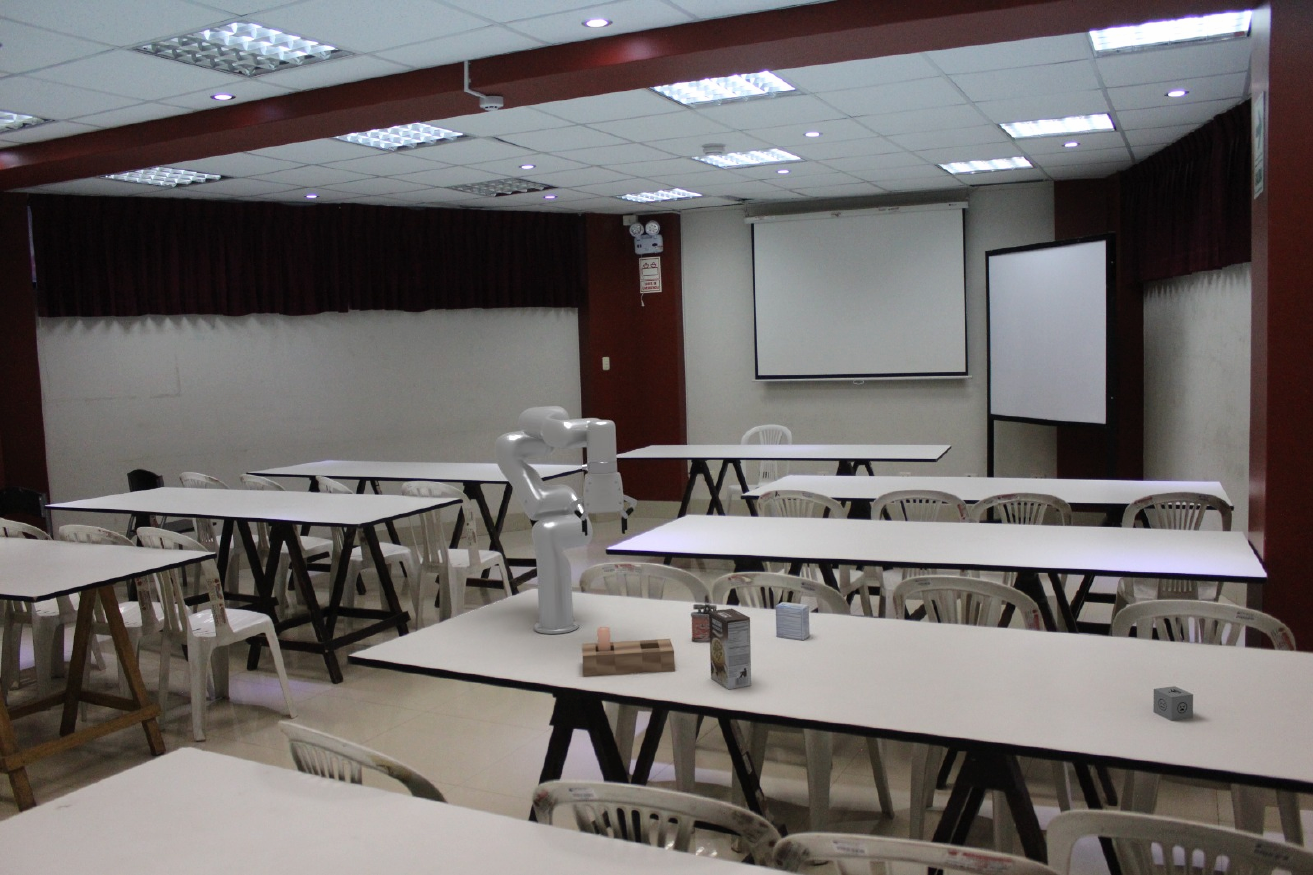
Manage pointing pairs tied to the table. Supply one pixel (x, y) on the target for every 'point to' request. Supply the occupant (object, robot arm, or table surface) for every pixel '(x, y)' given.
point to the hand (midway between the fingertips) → (604, 534)
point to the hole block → (628, 657)
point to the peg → (603, 639)
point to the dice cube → (1173, 703)
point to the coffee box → (730, 648)
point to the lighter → (701, 622)
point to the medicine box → (792, 621)
